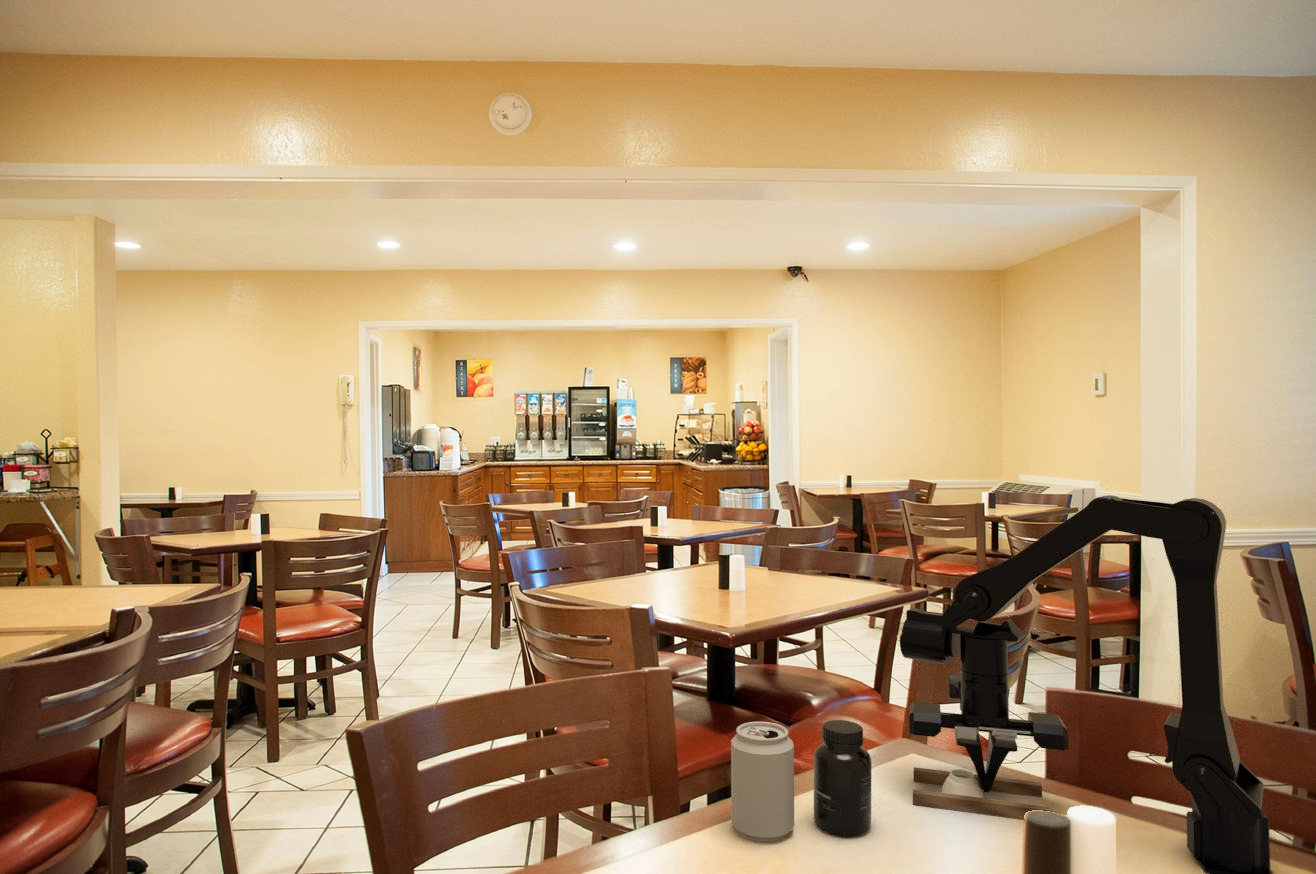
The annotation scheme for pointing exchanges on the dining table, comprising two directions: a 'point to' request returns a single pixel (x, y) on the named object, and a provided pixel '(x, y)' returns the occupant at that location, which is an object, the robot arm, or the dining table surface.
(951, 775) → the lidless jar
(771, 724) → the can
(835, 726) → the supplement bottle
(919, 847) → the dining table surface
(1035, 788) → the chute
